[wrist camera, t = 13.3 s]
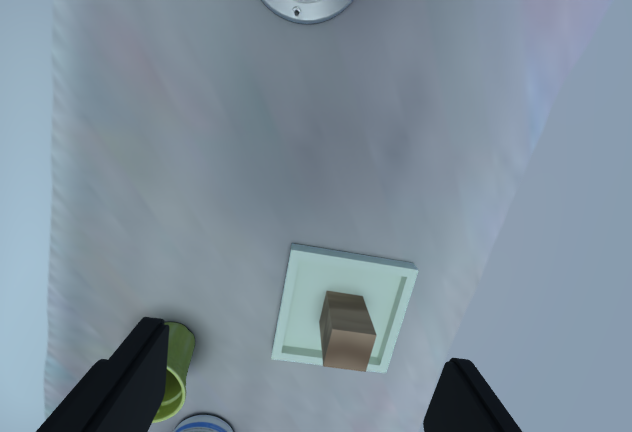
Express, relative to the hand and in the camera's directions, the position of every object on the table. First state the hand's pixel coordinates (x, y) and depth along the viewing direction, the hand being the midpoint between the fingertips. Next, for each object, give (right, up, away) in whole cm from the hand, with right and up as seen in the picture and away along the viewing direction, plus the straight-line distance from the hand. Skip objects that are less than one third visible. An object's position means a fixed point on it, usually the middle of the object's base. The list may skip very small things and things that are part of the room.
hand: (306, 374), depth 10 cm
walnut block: (+4, -7, +31) cm, 32 cm away
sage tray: (+4, -7, +32) cm, 33 cm away
